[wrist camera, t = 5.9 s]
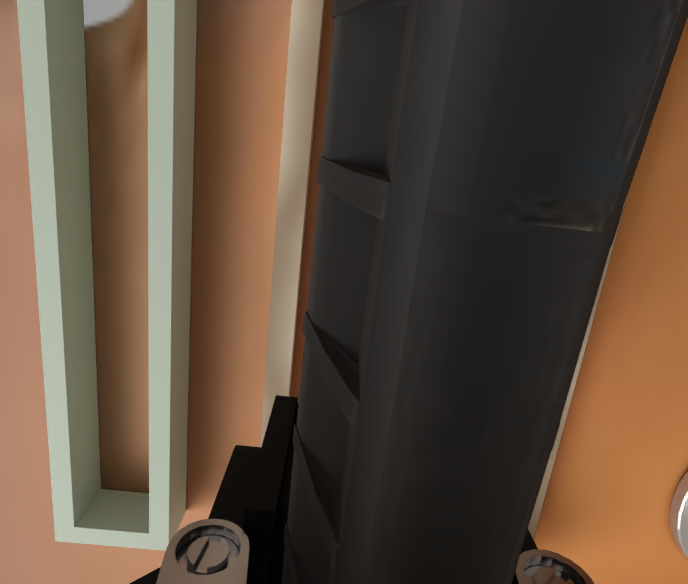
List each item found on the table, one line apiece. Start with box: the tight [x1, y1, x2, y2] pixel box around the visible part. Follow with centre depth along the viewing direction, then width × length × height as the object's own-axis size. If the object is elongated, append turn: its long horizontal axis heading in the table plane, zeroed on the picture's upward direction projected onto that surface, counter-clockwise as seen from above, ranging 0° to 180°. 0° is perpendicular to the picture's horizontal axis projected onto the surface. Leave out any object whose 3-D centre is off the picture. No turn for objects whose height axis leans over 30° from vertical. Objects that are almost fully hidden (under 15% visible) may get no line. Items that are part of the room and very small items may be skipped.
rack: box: [260, 0, 628, 538], centre depth 26 cm, size 21×40×6 cm, turn 174°
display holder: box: [17, 0, 197, 551], centre depth 27 cm, size 7×36×4 cm, turn 174°
